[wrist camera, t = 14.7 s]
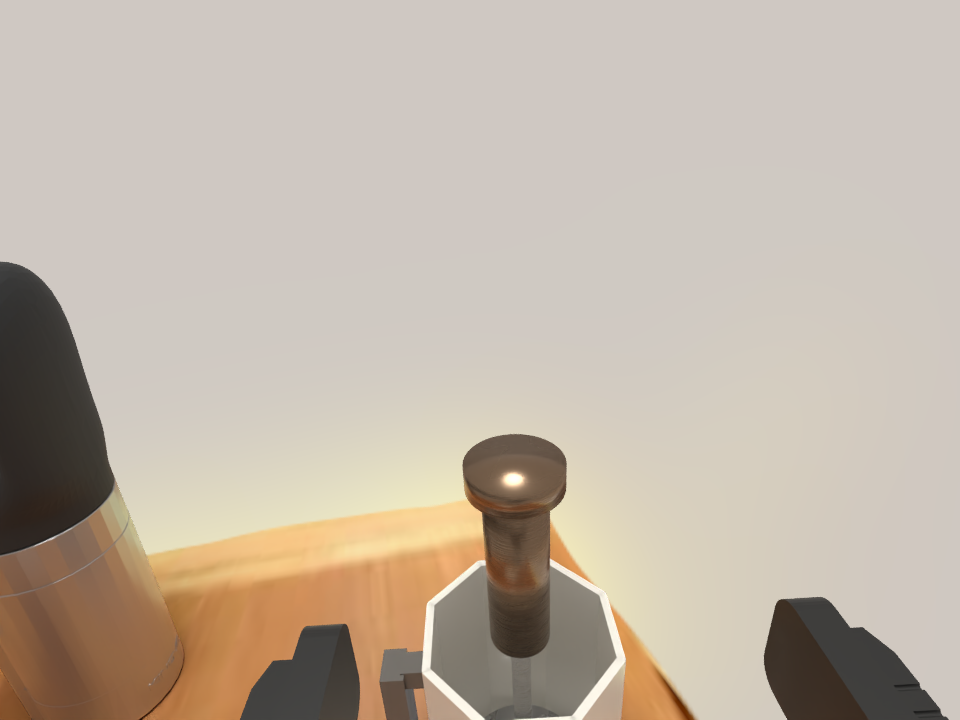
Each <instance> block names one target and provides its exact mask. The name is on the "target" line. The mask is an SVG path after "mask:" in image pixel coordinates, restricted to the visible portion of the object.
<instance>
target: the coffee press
mask: <svg viewBox="0 0 960 720" xmlns="http://www.w3.org/2000/svg"><path fill="white" fill-rule="evenodd" d="M625 665H626V658H625V655H624V651H623V648H622V645H621V641H620V638H619V634H618V631H617V628H616V624H615V621H614V618H613V614H612V611H611V607H610V604H609V601H608V597H607V594H606V593H605V591H603V590H601V589H600V588H598V587H596V586H595V585H593V584H591V583H590V582H588V581H586V580H585V579H583V578H581V577H580V576H578V575H576V574H575V573H573V572H571V571H570V570H568V569H566V568H565V567H563V566H561V565H560V564H558V563H556V562H555V561H553V560H551V559H550V638H549V641H548V643H547V645H546V647H545V648H544V649H543V650H542V651H541V652H540V653H538V654H536V655H534V656H532V657H531V694H532V705H535V706H539V707H543V708H545V709H548V710H550V711H552V712H554V713H555V714H557V715H558V716H560V717H549V718H532V719H515V720H621V714H622V701H623V689H624V677H625ZM379 682H380V688H381V693H382V698H383V703H384V708H385V713H386V718H387V720H418V716H417V709H416V703H415V697H414V690H413V689H420V688H424V691H425V698H426V705H427V712H428V718H429V720H485V719H484V718H485V717H486V716H487V715H489V714H490V713H492V712H494V711H496V710H498V709H500V708H503V707H506V706H510V705H513V685H512V663H511V657H510V656H507V655H505V654H503V653H502V652H500V651H499V650H498V649H497V648H496V647H495V645H494V644H493V642H492V639H491V635H490V622H489V607H488V592H487V577H486V562H485V560H482V561H477V562H476V563H475V564H474V565H473V566H471V567H470V568H469V569H468V570H466V571H465V572H464V573H463V574H462V575H460V576H459V577H458V578H457V579H456V580H454V581H453V582H452V583H451V584H450V585H448V586H447V587H446V588H445V589H444V590H442V591H441V592H440V593H439V594H437V595H436V596H435V597H434V598H433V599H431V600H430V601H429V602H428V604H427V610H426V623H425V636H424V648H423V651H419V652H407V649H390V650H384V655H383V662H382V668H381V675H380V681H379Z"/></svg>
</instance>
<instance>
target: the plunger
mask: <svg viewBox="0 0 960 720" xmlns="http://www.w3.org/2000/svg"><path fill="white" fill-rule="evenodd" d="M463 477H464V489H465V494H466V497H467V499H468V501H469V502H470V503H471V504H472V505H473V506H474V507H475V508H476V509H478V510H479V511H481V512H482V517H483V532H484V547H485V562H486V577H487V592H488V607H489V622H490V635H491V639H492V642H493V644H494V645H495V647H496V648H497V649H498V650H499V651H500V652H502V653H503V654H505V655H507V656H510V657H511V663H512V685H513V705H510V706H506V707H503V708H500V709H498V710H496V711H494V712H492V713H490V714H489V715H487V716H486V717H485V718H484V719H485V720H515V719H532V718H549V717H560V716H558V715H557V714H555V713H554V712H552V711H550V710H548V709H545V708H543V707H539V706H535V705H532V694H531V657H532V656H534V655H536V654H538V653H540V652H541V651H542V650H543V649H544V648H545V647H546V645H547V643H548V641H549V638H550V510H552V509H553V508H555V507H556V506H557V505H558V504H559V503H560V502H561V501H562V499H563V498H564V495H565V492H566V458H565V456H564V454H563V453H562V451H561V450H560V449H559V448H558V447H557V446H555V445H554V444H552V443H551V442H549V441H547V440H544V439H542V438H539V437H535V436H530V435H522V434H510V435H502V436H496V437H492V438H489V439H486V440H484V441H482V442H480V443H478V444H476V445H475V446H474V447H472V448H471V449H470V450H469V451H468V453H467V454H466V455H465V457H464V460H463Z"/></svg>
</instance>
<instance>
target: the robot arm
mask: <svg viewBox="0 0 960 720" xmlns="http://www.w3.org/2000/svg"><path fill="white" fill-rule="evenodd" d="M183 659H184V652H183V646H182V644H181V641H180V639H179V636H178V634H177V631H176V629H175V626H174V624H173V621H172V619H171V616H170V613H169V611H168V608H167V606H166V603H165V601H164V598H163V596H162V593H161V591H160V589H159V586H158V584H157V581H156V579H155V576H154V574H153V571H152V569H151V566H150V564H149V561H148V559H147V556H146V554H145V551H144V549H143V546H142V544H141V541H140V539H139V537H138V534H137V532H136V529H135V527H134V524H133V522H132V519H131V517H130V515H129V512H128V510H127V507H126V505H125V502H124V500H123V498H122V495H121V493H120V490H119V487H118V485H117V482H116V480H115V478H114V475H113V473H112V470H111V467H110V465H109V462H108V457H107V450H106V443H105V437H104V431H103V427H102V424H101V420H100V418H99V415H98V411H97V408H96V406H95V403H94V400H93V397H92V394H91V391H90V388H89V385H88V382H87V379H86V376H85V373H84V369H83V366H82V363H81V359H80V356H79V353H78V350H77V346H76V343H75V340H74V337H73V334H72V332H71V329H70V326H69V323H68V321H67V319H66V316H65V314H64V313H63V310H62V308H61V306H60V304H59V302H58V301H57V299H56V297H55V296H54V294H53V293H52V291H51V290H50V289H49V288H48V286H47V285H46V284H45V283H44V282H43V281H42V280H41V279H40V278H39V277H38V276H37V275H35V274H34V273H33V272H31V271H30V270H28V269H26V268H25V267H23V266H20V265H17V264H13V263H9V262H0V669H1V670H2V672H3V674H4V675H5V677H6V679H7V680H8V682H9V683H10V685H11V687H12V688H13V690H14V691H15V693H16V695H17V696H18V698H19V700H20V701H21V703H22V704H23V706H24V708H25V709H26V711H27V712H28V714H29V716H30V717H31V719H32V720H139V719H140V718H142V717H143V716H144V715H146V714H147V713H148V712H149V711H151V710H152V709H153V708H154V707H155V706H156V705H157V704H158V703H159V702H160V701H161V700H162V699H163V698H164V696H165V695H166V694H167V693H168V692H169V690H170V689H171V688H172V686H173V684H174V683H175V681H176V680H177V678H178V676H179V673H180V671H181V668H182V665H183ZM764 665H765V671H766V675H767V679H768V682H769V685H770V687H771V690H772V692H773V693H774V695H775V697H776V699H777V701H778V703H779V705H780V707H781V709H782V711H783V712H784V714H785V716H786V718H787V720H948V718H947V717H943V716H942V714H941V711H940V708H939V707H938V706H937V705H936V703H935V702H934V701H933V700H932V699H931V697H930V696H929V695H928V693H927V692H926V691H925V690H922V689H921V688H920V684H919V682H918V681H917V680H916V679H915V677H914V676H913V675H912V674H911V672H910V671H909V670H908V668H907V667H906V666H905V665H904V664H903V662H902V661H901V660H900V658H898V656H897V655H896V654H895V653H894V652H893V651H892V650H891V649H889V648H888V647H887V646H886V645H884V644H883V643H882V642H881V641H879V640H878V639H877V638H876V637H874V636H873V635H872V634H870V633H869V632H868V631H867V630H865V629H864V628H863V627H860V628H850V627H849V626H848V624H847V623H846V622H845V620H844V619H843V618H842V616H841V615H840V614H839V612H838V611H837V610H836V608H835V607H834V606H833V605H832V603H830V602H829V601H828V600H827V599H825V598H823V597H812V598H795V599H781V600H779V601H778V602H777V603H776V606H775V610H774V614H773V619H772V623H771V627H770V631H769V636H768V640H767V645H766V648H765V653H764ZM359 700H360V683H359V675H358V670H357V666H356V661H355V657H354V652H353V647H352V643H351V638H350V634H349V629H348V627H347V625H346V624H335V625H318V626H306V627H305V628H304V629H303V630H302V632H301V634H300V637H299V640H298V643H297V647H296V650H295V653H294V656H293V659H292V660H279V661H273V662H272V663H271V664H270V666H269V667H268V668H267V670H266V671H265V672H264V674H263V675H262V676H261V677H260V679H259V680H258V681H257V683H256V684H255V685H254V687H253V688H252V689H251V692H250V694H249V697H248V700H247V702H246V705H245V708H244V710H243V713H242V716H241V718H240V720H357V718H358V711H359Z"/></svg>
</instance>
